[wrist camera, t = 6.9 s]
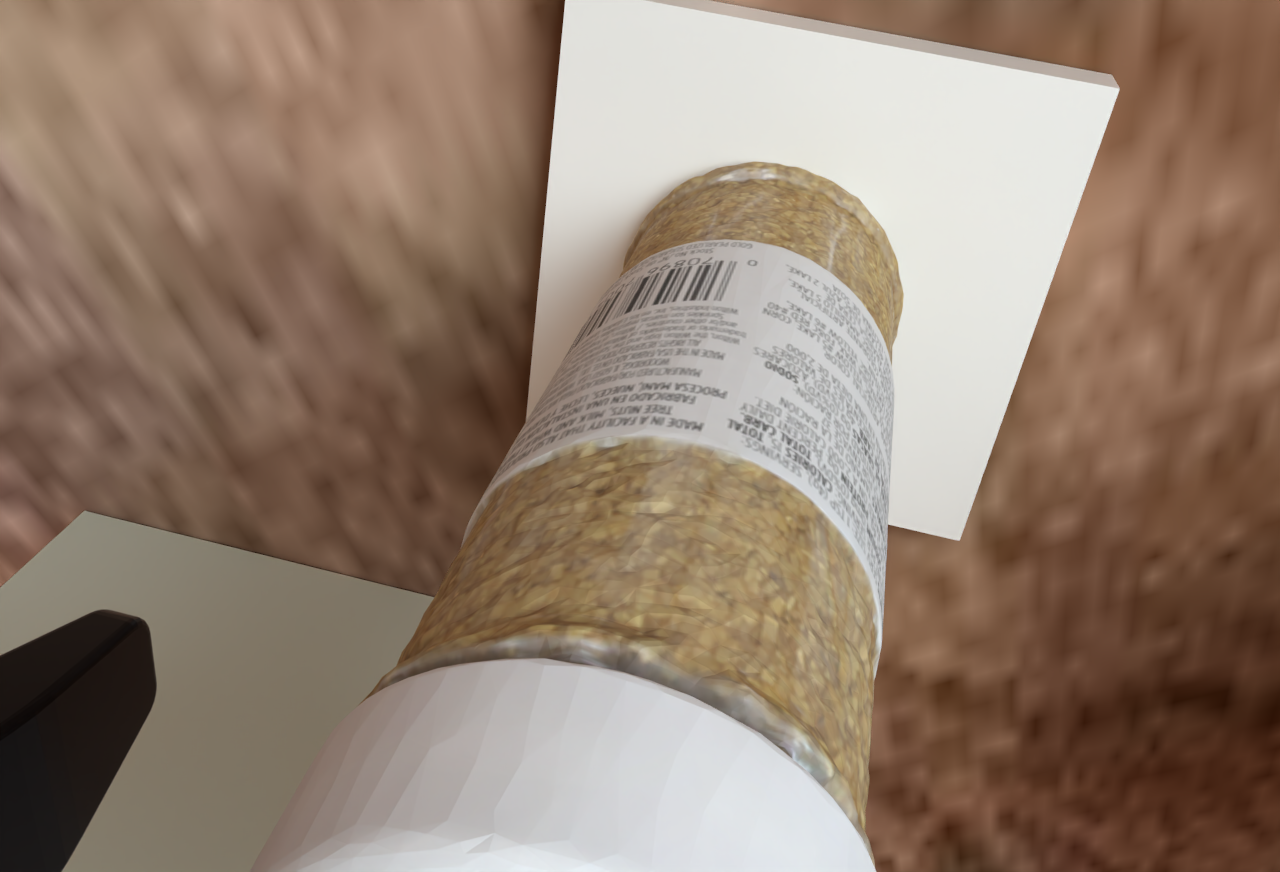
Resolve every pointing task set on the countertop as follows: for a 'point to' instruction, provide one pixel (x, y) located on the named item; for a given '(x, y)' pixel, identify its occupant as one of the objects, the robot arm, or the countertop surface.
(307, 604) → the pale green board
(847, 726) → the seasoning jar
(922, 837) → the countertop surface
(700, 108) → the tile pad
